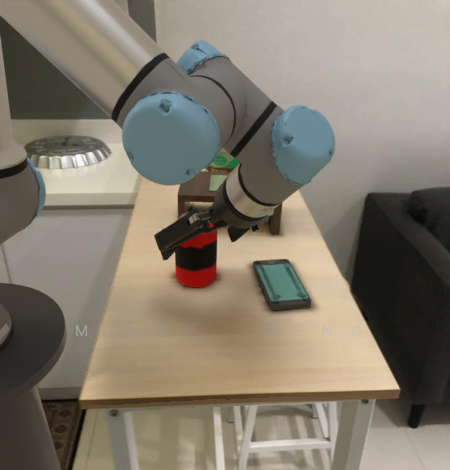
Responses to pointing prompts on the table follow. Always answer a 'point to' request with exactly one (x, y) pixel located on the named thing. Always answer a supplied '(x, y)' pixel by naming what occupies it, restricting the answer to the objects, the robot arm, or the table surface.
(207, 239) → the soda can
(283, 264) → the smartphone
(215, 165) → the food container
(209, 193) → the shelf
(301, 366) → the table surface
